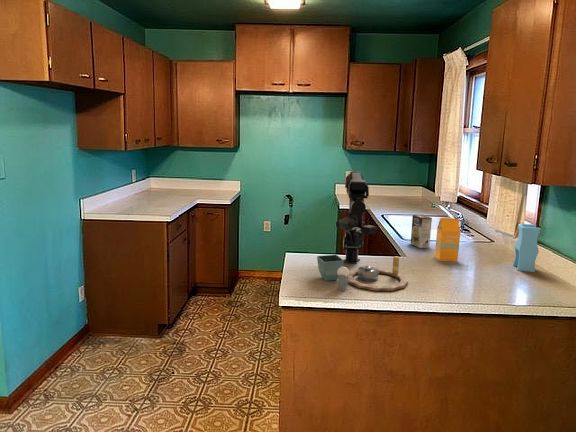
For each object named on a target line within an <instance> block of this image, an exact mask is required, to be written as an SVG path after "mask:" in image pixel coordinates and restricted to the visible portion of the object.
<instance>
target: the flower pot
mask: <svg viewBox="0 0 576 432" xmlns="http://www.w3.org/2000/svg"><path fill="white" fill-rule="evenodd" d="M316 259H317V267H318V272H319V274H320V276H321V277H322V278H323V280H325V281H326V282H327V281H338V274H337V270H338V269H339V268H340V267H344V263H345V262H344V259H343V258H341V257H340V256H339V255H337V254H328V255H325V254H324V255H317V257H316Z"/></svg>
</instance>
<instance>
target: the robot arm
mask: <svg viewBox="0 0 576 432" xmlns="http://www.w3.org/2000/svg"><path fill="white" fill-rule="evenodd" d="M364 178H365V177H364V176H363V175H362V172H361V171H357V170H356V171H355V170H351V171H350V172H349V174H348V175H347V176H346V177H345V183H344V186H345V187H344V189H346V191H345V192H346V194H347V195H348V199H349V200H348V201H349V203H348V204H349V205H348V208H349V209H348V212H347V215H346V217H343V218H342V219H338V220H337V221H336V222H335V227H337V228H340V229H341V230H343V231H345V234H344V236H343V241H342V249H343V250H345V258H344V259H343V260H344V262H343V263H349V264H351V263H352V264H357V263H358V262H360V260H361V259H360V258H359V251H361V250H363V247H364V239H363V237H364V235H368V236H369V235H374V234H377V233H378V229H377V226H375V225H371V224H368V225H366V222H365V221H364V216H366V209H367V206H366V204H365V199H366V200H367V199H368V197H370V190H369V189H370V187H369V185H368V184H369V183H366V180H365V179H364Z"/></svg>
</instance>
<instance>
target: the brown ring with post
mask: <svg viewBox="0 0 576 432" xmlns="http://www.w3.org/2000/svg"><path fill="white" fill-rule="evenodd" d="M392 259H393V260H392V270H389V269H381V268H377V269H378V270H379V274H383V275H389V276H391V277H394V278H397V279H398V280H399V283H396V284H391V285H372V284H367V283H363V282H361V281H358V280H356V279H355V278H354V277H355V276H356V275H358V269H355V270H354V269H353V270H349V275H348V284H351V285H352V286H355V287H357V288H358V289H359V288H360V289H364V290H366V289H367V290H370V291H374V292H375V291H379V292H382V291H383V292H385V291H388V292H389V291H390V292H391V291H392V292H393V291H396V290H400V289H404V288H406V286H407V285H408V284H409V280H408V278H407V277H406V276H405V275H403V274H401V273H399V268H400V267H399V266H400V256H398V255H397V256H393V257H392Z"/></svg>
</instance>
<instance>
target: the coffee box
mask: <svg viewBox="0 0 576 432" xmlns="http://www.w3.org/2000/svg"><path fill="white" fill-rule="evenodd" d="M432 221H433V218H432V217H430V216H428V215H425V214H412V221H411V234H410V235H411V236H410V244H411V245H413V246H415V247H417V248H418V249H422V248H430V243H431V233H432Z"/></svg>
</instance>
